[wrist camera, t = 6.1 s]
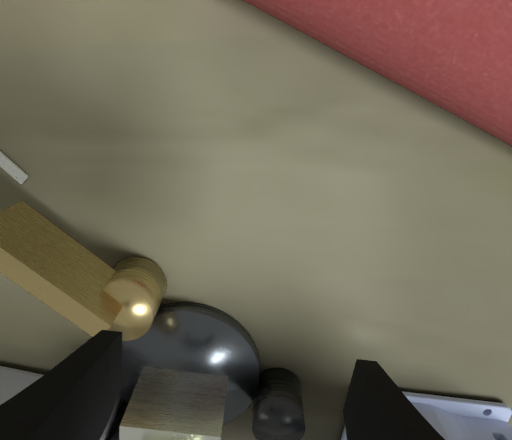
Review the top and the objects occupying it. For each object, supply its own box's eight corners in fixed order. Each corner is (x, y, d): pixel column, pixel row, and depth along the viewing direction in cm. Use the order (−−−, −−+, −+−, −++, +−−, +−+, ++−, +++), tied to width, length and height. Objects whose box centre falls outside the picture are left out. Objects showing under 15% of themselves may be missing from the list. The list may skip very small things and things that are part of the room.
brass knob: (178, 281, 21) (156, 334, 17) (144, 315, 22) (116, 375, 18) (46, 178, 19) (-15, 209, 15) (14, 220, 20) (-53, 261, 16)
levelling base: (342, 194, 20) (375, 246, 14) (286, 451, 26) (292, 561, 20) (-10, 148, 19) (-128, 182, 13) (19, 421, 25) (-53, 526, 20)
